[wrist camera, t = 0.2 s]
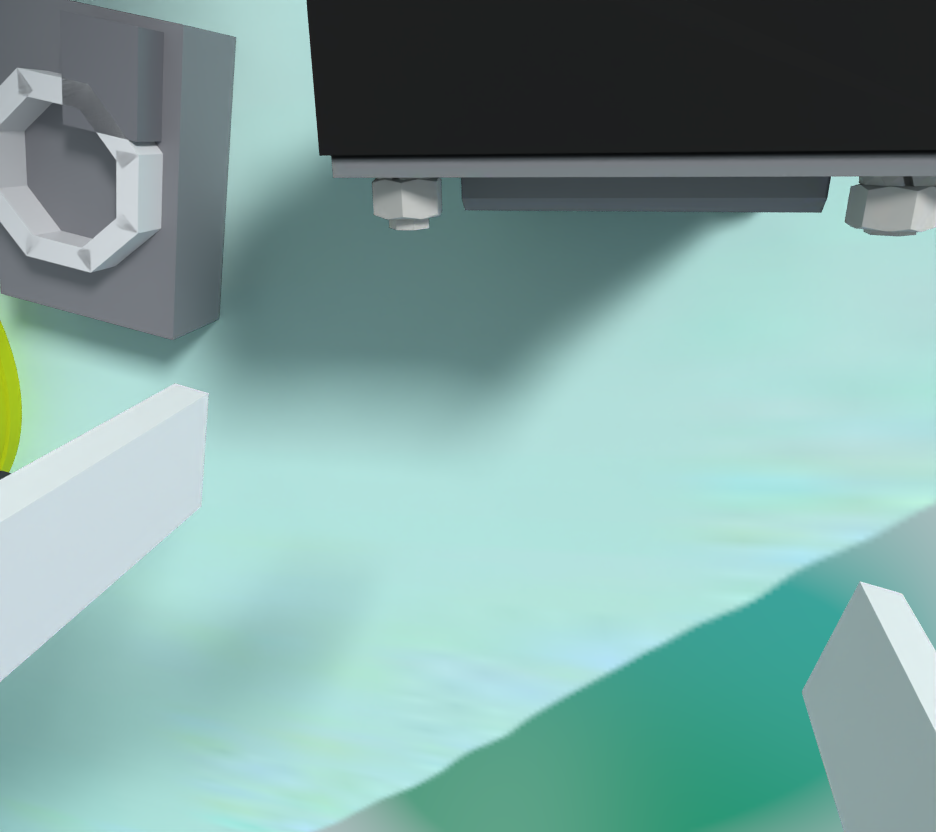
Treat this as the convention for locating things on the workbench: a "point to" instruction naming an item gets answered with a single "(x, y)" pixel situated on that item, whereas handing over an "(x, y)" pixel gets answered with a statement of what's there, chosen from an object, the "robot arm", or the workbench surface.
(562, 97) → the electrical component
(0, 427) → the pulley
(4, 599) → the robot arm
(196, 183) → the plate with octagonal ring
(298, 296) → the workbench surface
